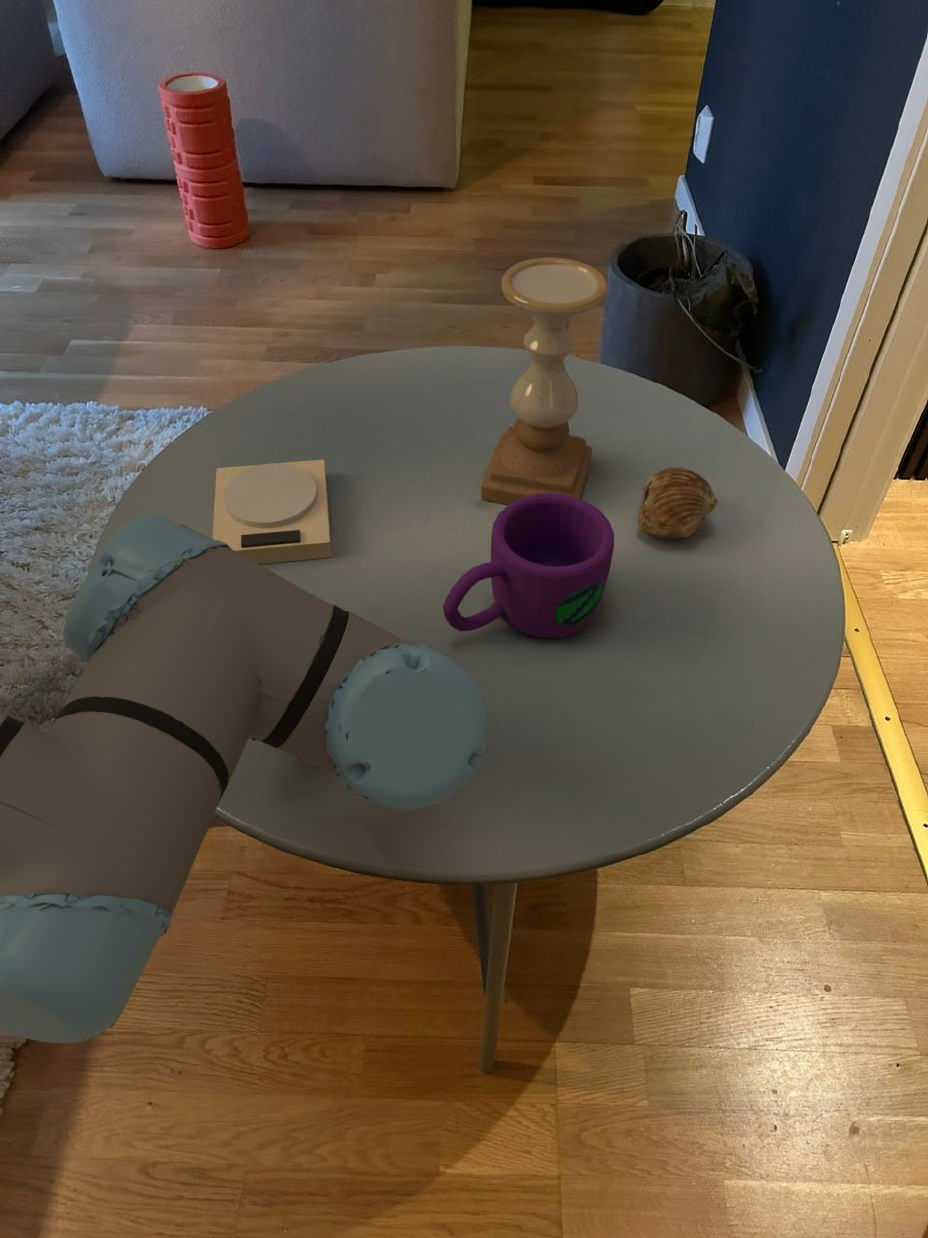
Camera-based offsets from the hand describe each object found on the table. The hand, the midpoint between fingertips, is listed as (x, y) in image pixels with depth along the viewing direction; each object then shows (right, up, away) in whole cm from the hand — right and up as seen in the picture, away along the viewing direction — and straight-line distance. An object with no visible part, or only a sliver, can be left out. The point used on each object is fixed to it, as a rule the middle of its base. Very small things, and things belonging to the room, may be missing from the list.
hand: (315, 677), depth 77 cm
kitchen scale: (-8, +16, +22) cm, 28 cm away
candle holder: (+21, +21, +27) cm, 40 cm away
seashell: (+35, +15, +22) cm, 44 cm away
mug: (+18, +5, +13) cm, 23 cm away
